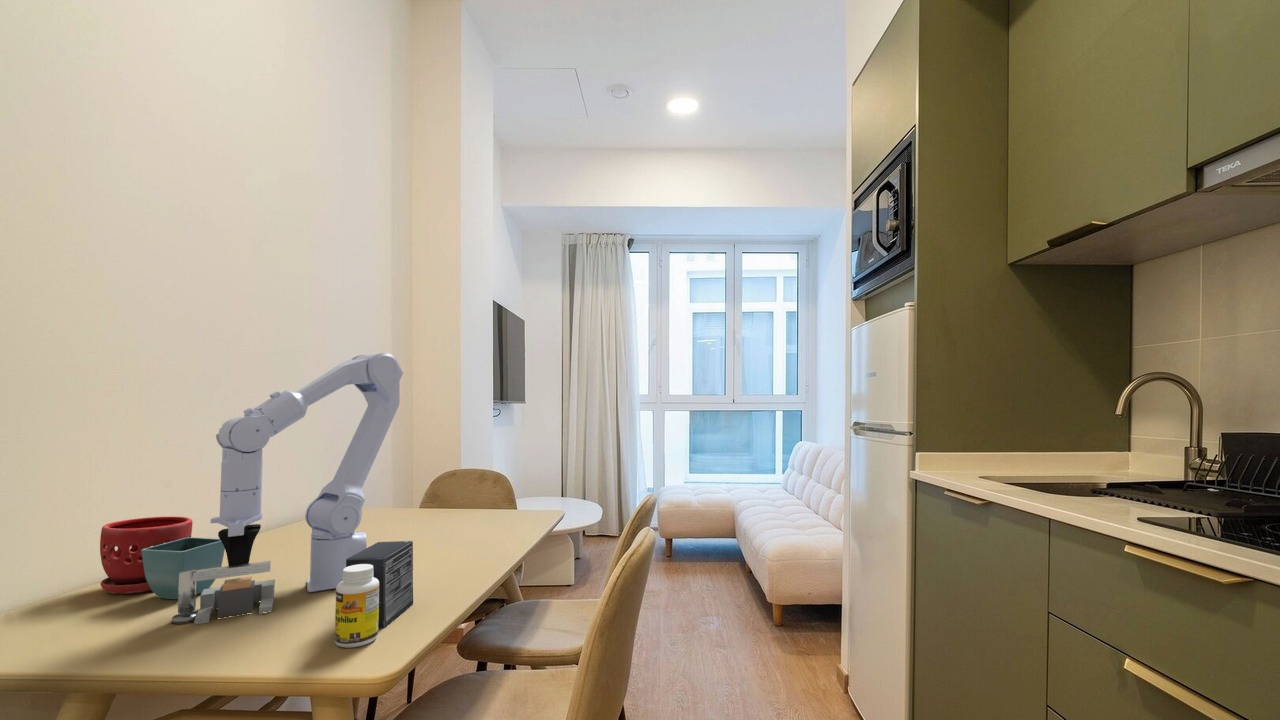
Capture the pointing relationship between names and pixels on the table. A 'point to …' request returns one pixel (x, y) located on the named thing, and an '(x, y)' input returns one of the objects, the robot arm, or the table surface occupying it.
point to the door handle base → (184, 617)
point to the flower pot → (180, 563)
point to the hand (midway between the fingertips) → (238, 572)
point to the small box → (390, 576)
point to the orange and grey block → (236, 597)
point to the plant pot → (135, 549)
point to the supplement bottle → (357, 607)
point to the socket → (210, 596)
